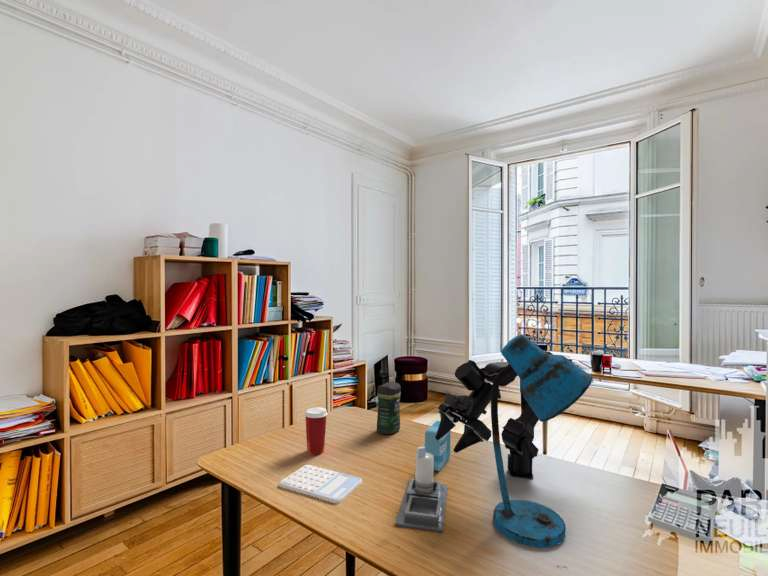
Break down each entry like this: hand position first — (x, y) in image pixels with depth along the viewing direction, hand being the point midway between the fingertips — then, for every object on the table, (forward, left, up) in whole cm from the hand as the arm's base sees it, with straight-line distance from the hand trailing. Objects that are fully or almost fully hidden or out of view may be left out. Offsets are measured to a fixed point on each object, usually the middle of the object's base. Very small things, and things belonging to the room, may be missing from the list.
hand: (445, 445), depth 108 cm
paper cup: (+44, -15, -13) cm, 48 cm away
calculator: (+34, +5, -13) cm, 37 cm away
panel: (+5, +8, -12) cm, 16 cm away
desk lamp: (-22, +11, -13) cm, 28 cm away
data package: (+3, -16, -13) cm, 21 cm away
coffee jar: (+24, -40, -13) cm, 48 cm away
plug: (+5, +4, -12) cm, 13 cm away
